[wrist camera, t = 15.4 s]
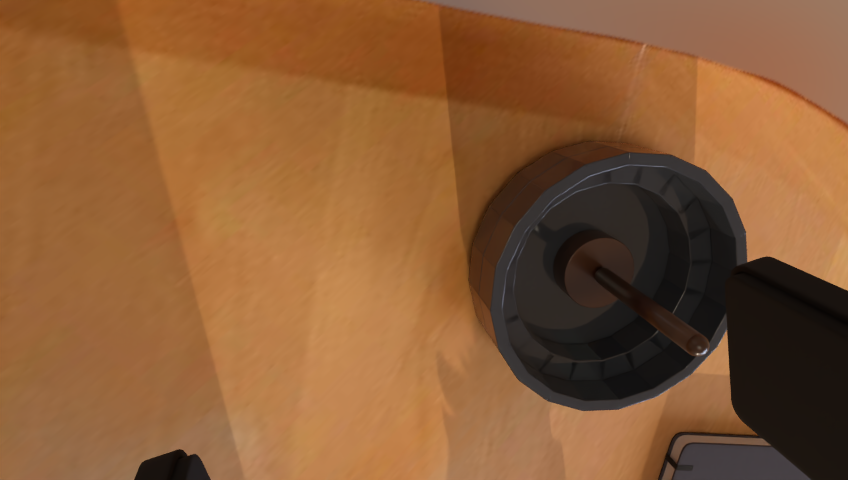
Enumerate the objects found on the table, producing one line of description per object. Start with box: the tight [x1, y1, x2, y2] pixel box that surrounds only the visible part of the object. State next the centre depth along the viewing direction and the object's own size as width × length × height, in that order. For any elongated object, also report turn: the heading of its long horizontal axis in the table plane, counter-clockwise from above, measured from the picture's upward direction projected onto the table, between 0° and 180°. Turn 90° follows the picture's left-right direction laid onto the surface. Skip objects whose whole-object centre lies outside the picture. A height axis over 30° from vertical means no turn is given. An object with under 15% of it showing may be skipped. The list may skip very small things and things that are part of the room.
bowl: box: [469, 141, 747, 411], centre depth 39 cm, size 18×18×6 cm
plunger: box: [553, 230, 709, 357], centre depth 35 cm, size 5×5×13 cm
